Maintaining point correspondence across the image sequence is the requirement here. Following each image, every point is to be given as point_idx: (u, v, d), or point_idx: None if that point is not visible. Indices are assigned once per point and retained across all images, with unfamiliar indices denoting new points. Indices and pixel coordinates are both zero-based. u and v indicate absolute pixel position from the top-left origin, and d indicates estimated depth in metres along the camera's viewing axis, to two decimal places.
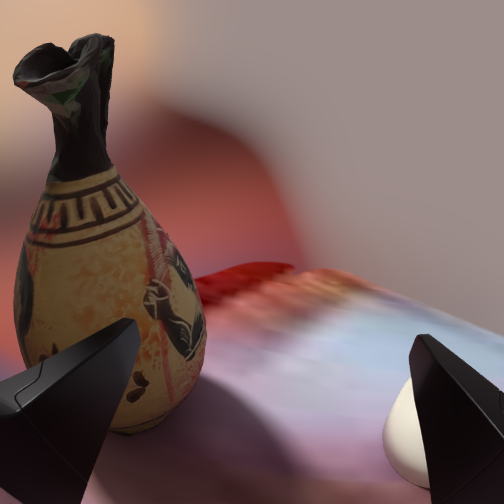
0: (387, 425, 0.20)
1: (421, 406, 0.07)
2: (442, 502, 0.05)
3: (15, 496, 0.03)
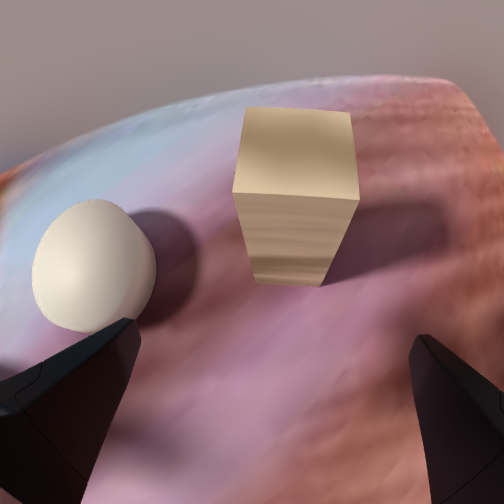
0: None
1: (421, 406, 0.07)
2: (442, 502, 0.05)
3: (15, 496, 0.03)
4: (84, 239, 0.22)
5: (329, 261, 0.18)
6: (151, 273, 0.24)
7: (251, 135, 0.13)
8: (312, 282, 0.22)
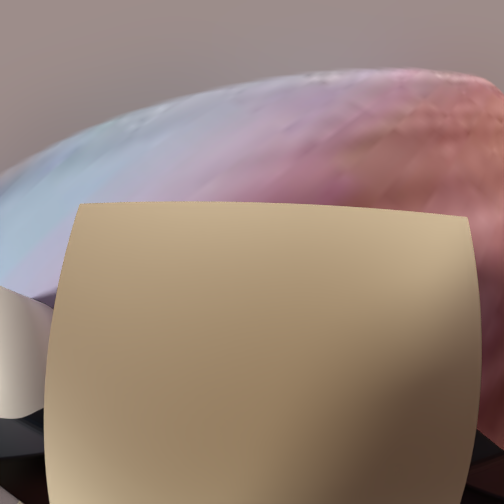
0: None
1: None
2: None
3: None
4: None
5: None
6: None
7: (75, 355, 0.03)
8: None
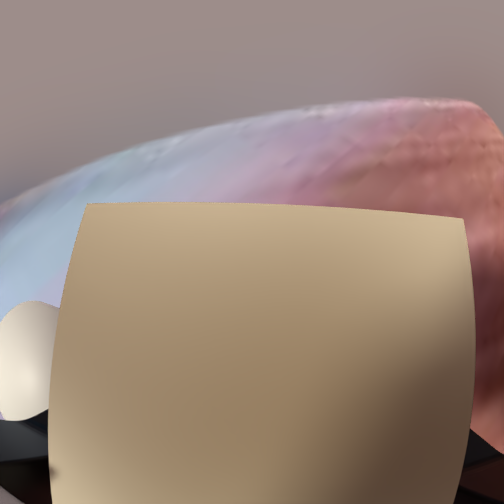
0: None
1: None
2: None
3: None
4: (33, 352, 0.16)
5: None
6: None
7: (81, 348, 0.03)
8: None
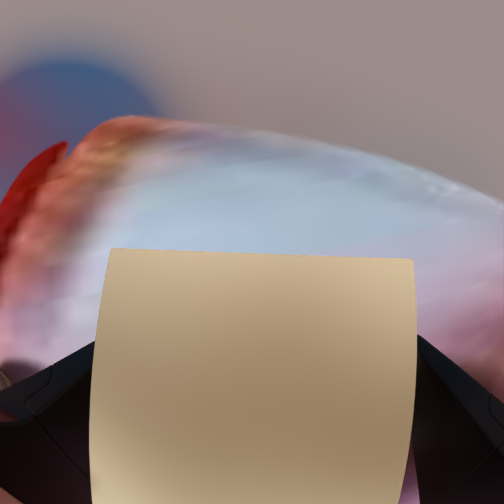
0: None
1: None
2: None
3: None
4: None
5: None
6: None
7: (116, 364, 0.04)
8: None
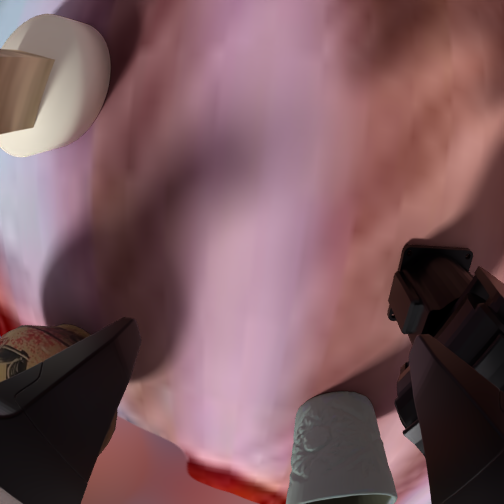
0: None
1: (421, 406, 0.07)
2: (442, 502, 0.05)
3: (15, 496, 0.03)
4: None
5: None
6: (92, 31, 0.15)
7: None
8: (41, 68, 0.13)
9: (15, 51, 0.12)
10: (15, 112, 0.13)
